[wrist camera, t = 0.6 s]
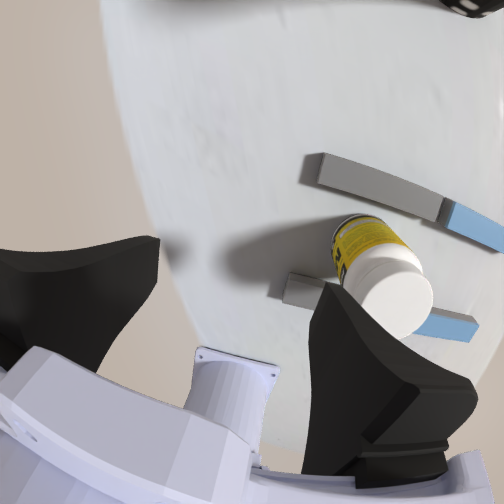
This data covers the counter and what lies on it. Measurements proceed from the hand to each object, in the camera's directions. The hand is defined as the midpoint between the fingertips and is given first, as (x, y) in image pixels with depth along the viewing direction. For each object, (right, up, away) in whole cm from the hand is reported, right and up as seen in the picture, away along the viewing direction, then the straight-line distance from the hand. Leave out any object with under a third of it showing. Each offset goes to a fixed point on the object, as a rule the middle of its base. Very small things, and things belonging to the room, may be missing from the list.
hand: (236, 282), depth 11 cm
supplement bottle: (+9, +2, +9) cm, 12 cm away
